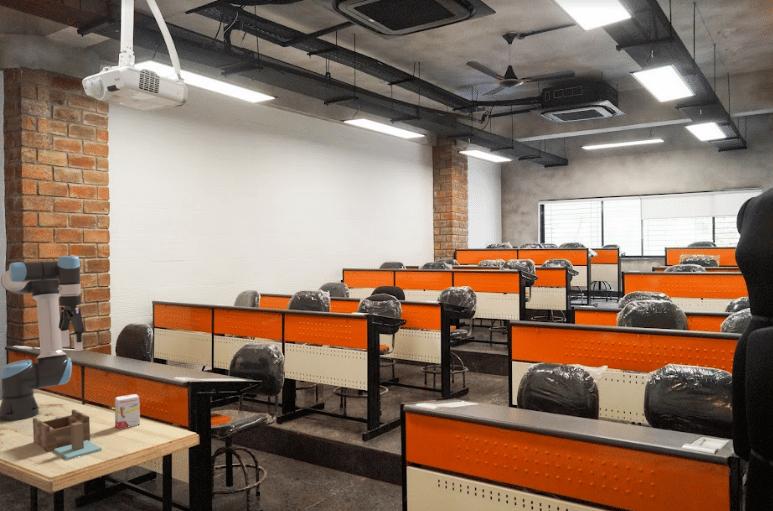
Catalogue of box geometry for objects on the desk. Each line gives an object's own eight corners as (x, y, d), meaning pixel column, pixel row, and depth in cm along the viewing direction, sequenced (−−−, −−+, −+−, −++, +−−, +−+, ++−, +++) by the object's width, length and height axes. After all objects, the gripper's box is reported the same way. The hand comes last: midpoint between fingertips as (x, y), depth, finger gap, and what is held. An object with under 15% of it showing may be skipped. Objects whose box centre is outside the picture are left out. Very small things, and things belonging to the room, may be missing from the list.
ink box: (117, 429, 226) (116, 400, 226) (115, 426, 230) (114, 397, 230) (140, 424, 232) (139, 396, 231) (137, 422, 236) (136, 393, 235)
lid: (54, 452, 204) (53, 424, 204) (87, 443, 212) (86, 416, 212) (67, 460, 195) (66, 431, 195) (101, 451, 204) (100, 423, 203)
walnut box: (33, 442, 214) (32, 418, 214) (74, 432, 224) (74, 409, 224) (47, 451, 204) (46, 426, 204) (90, 440, 215) (89, 416, 214)
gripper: (48, 294, 230) (50, 346, 231) (71, 297, 214) (73, 353, 214) (68, 292, 236) (70, 343, 237) (92, 295, 219) (94, 350, 220)
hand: (72, 348), depth 226 cm, fingers open, 13 cm apart
